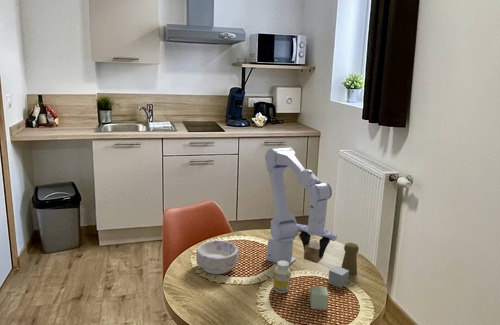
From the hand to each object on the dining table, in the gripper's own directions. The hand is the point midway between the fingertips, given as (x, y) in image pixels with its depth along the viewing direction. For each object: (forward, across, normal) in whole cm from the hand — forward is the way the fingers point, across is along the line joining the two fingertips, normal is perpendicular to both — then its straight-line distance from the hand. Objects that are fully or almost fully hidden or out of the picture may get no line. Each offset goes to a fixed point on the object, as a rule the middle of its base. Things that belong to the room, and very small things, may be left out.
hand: (313, 254), depth 143 cm
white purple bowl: (+11, -32, -13) cm, 36 cm away
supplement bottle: (+11, -6, -11) cm, 16 cm away
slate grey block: (+10, +8, +5) cm, 14 cm away
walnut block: (+2, 0, 0) cm, 2 cm away
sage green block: (+10, +8, -12) cm, 18 cm away
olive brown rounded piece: (+11, +8, +16) cm, 21 cm away
